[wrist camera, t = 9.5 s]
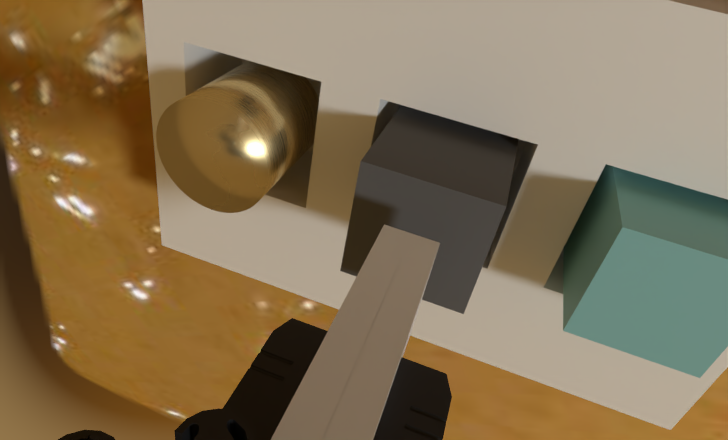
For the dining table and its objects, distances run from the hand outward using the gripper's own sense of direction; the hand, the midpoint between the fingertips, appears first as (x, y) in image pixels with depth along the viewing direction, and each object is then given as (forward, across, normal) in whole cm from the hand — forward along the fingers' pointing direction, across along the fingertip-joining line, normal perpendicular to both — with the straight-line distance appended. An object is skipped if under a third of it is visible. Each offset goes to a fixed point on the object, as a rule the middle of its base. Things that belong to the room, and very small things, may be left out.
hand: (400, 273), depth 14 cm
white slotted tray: (+10, 0, 0) cm, 10 cm away
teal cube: (+7, +7, 0) cm, 10 cm away
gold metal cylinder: (+7, -7, 0) cm, 10 cm away
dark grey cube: (+6, 0, 0) cm, 6 cm away
